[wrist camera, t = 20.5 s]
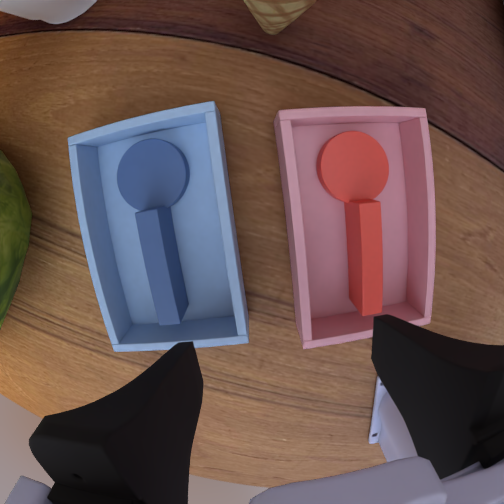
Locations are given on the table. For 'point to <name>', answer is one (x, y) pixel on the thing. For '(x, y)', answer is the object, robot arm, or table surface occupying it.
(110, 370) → the table surface
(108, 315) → the blue bin
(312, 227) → the rose bin
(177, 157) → the blue spoon
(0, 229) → the lettuce
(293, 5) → the ice cream cone
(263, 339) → the table surface
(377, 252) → the red spoon
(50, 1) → the cup
